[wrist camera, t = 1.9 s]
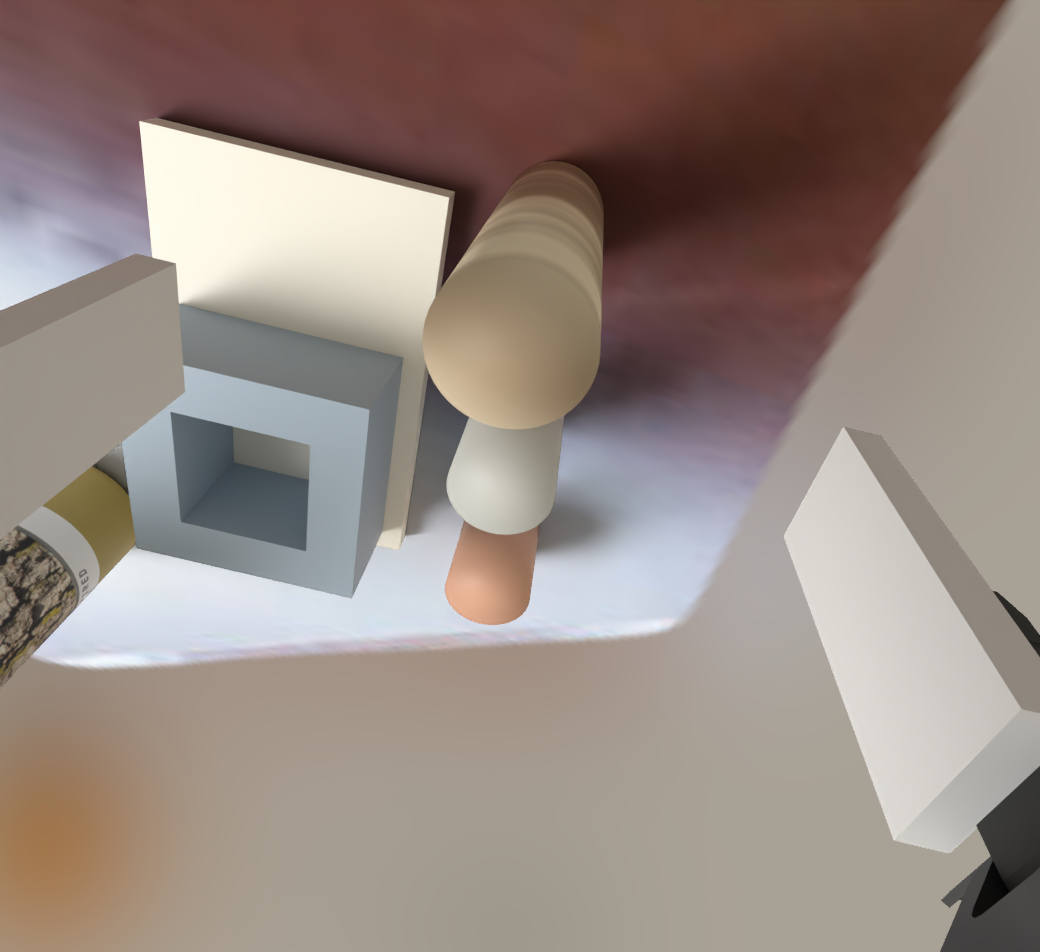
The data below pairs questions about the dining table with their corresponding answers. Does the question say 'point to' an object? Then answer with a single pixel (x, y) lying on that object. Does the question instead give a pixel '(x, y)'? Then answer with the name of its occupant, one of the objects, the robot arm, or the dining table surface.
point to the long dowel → (524, 304)
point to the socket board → (302, 261)
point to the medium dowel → (505, 476)
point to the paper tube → (59, 562)
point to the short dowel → (492, 575)
